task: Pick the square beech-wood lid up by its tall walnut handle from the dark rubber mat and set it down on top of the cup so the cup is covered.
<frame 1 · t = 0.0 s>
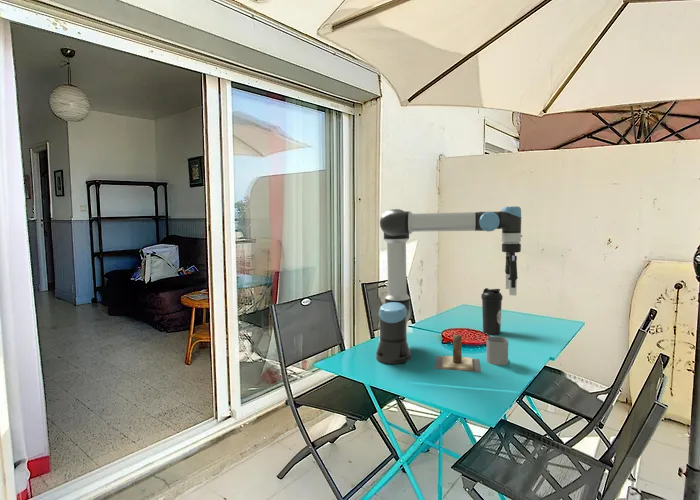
hand: (510, 292, 171), 28 cm above the table, fingers open, 13 cm apart
lid: (457, 363, 164), point 1 cm above the table, touching mat
water bottle: (491, 333, 206), on the table
mat: (457, 365, 164), on the table
cup: (497, 363, 166), on the table
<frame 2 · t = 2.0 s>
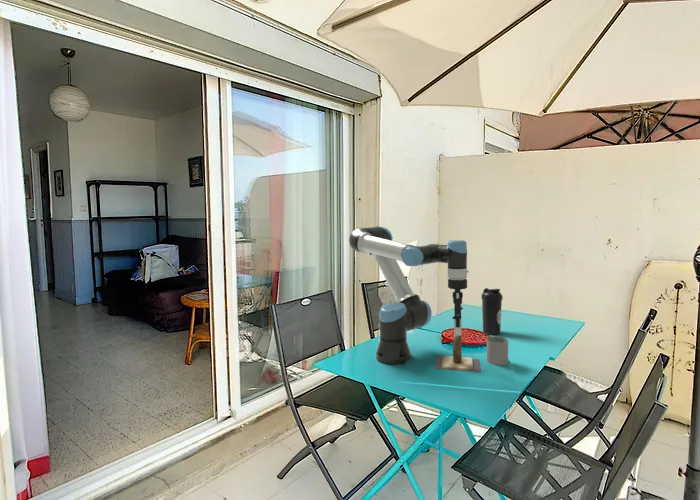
hand: (457, 330, 162), 15 cm above the table, fingers open, 13 cm apart
nothing on the table moved.
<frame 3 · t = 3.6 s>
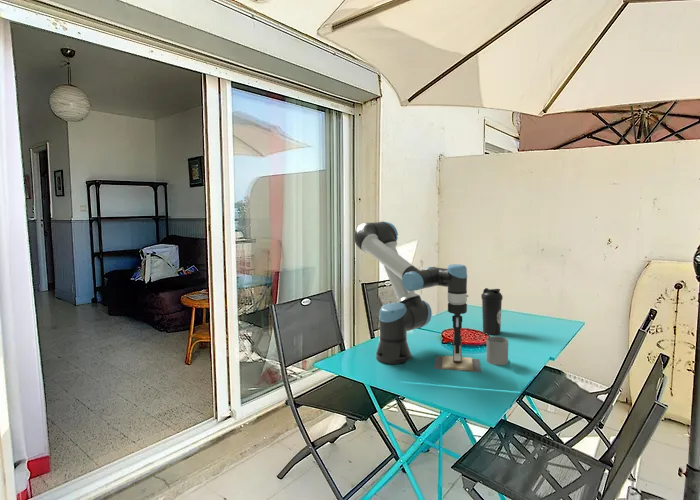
hand: (457, 358, 164), 3 cm above the table, fingers closed on lid, 3 cm apart
lid: (457, 363, 164), point 1 cm above the table, touching gripper, mat
everything else where it was.
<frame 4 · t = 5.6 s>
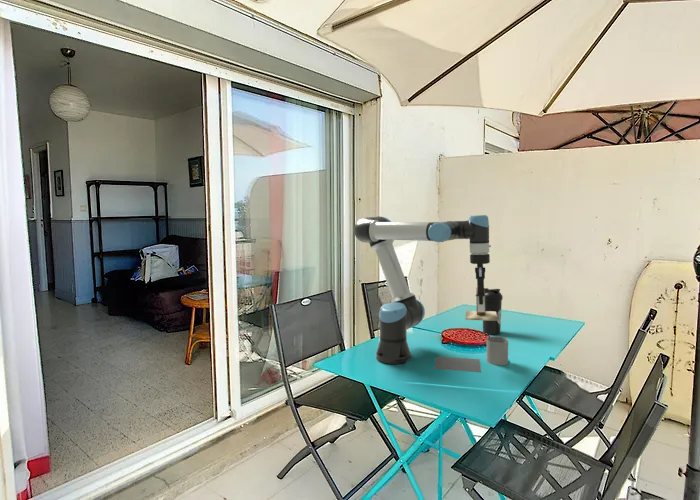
hand: (481, 310, 162), 23 cm above the table, fingers closed on lid, 3 cm apart
lid: (481, 316, 162), point 20 cm above the table, touching gripper
everything else where it was.
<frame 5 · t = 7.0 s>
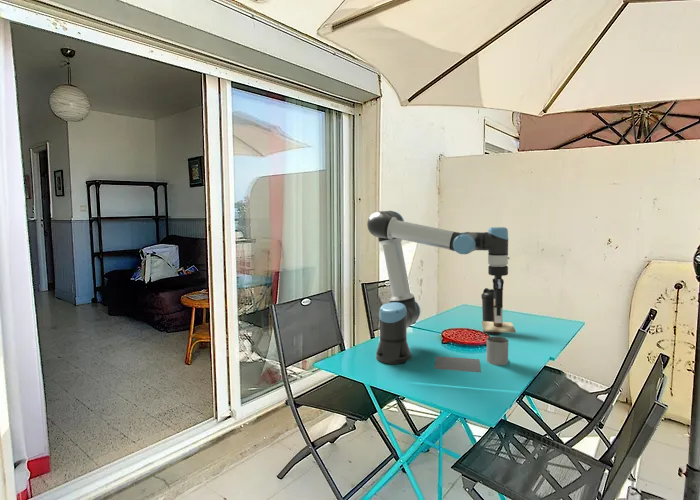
hand: (497, 321, 164), 18 cm above the table, fingers closed on lid, 3 cm apart
lid: (497, 327, 164), point 15 cm above the table, touching gripper
everything else where it was.
when the fingers open (14 cm above the table, at t = 7.9 s): lid stays where it is, resting on cup.
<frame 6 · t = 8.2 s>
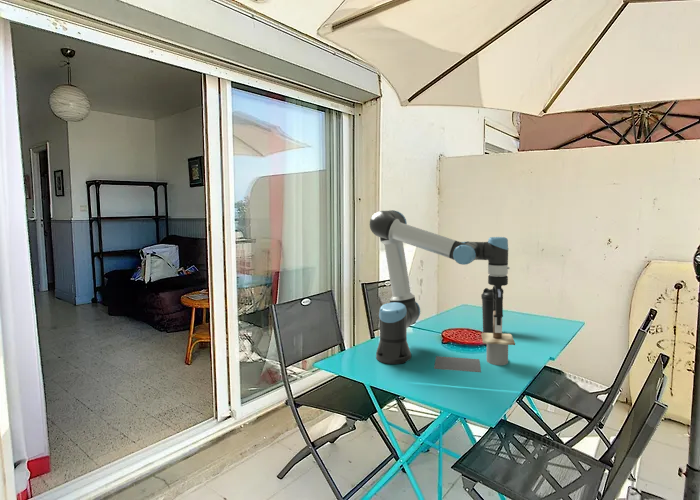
hand: (497, 329, 164), 14 cm above the table, fingers open, 8 cm apart
lid: (497, 339, 165), point 10 cm above the table, touching cup
cup: (497, 363, 166), on the table, touching lid
everything else where it was.
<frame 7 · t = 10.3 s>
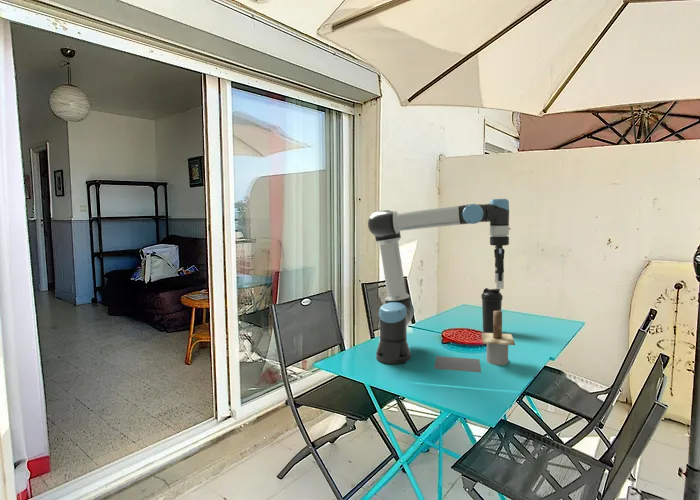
hand: (499, 285, 169), 31 cm above the table, fingers open, 13 cm apart
nothing on the table moved.
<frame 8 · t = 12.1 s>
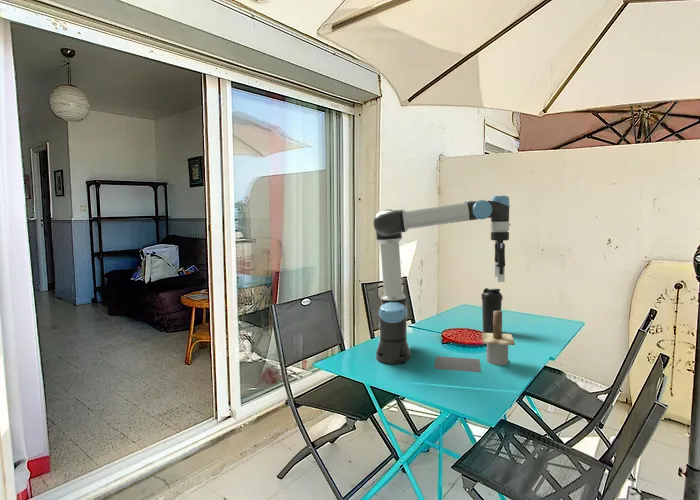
hand: (499, 279, 176), 33 cm above the table, fingers open, 13 cm apart
nothing on the table moved.
at the end: lid 0.1 cm from the cup (horizontally); lid point 9.9 cm above the table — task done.
